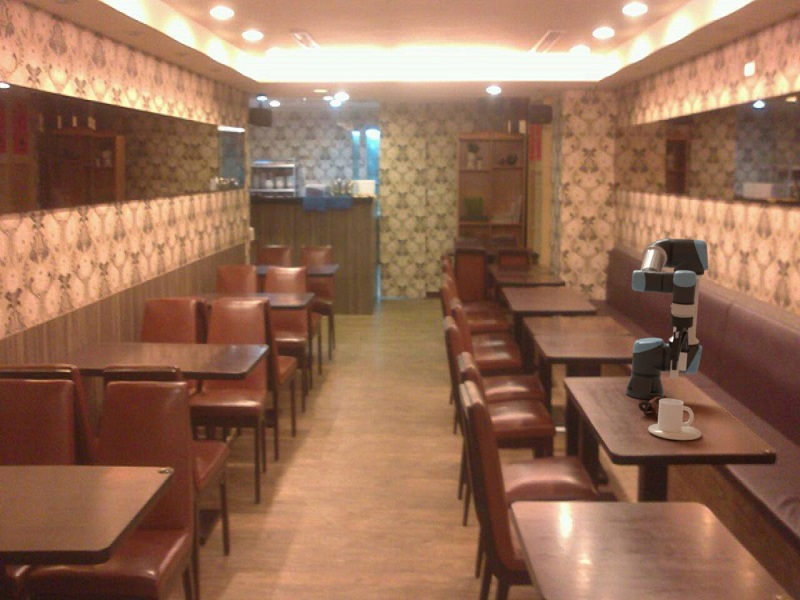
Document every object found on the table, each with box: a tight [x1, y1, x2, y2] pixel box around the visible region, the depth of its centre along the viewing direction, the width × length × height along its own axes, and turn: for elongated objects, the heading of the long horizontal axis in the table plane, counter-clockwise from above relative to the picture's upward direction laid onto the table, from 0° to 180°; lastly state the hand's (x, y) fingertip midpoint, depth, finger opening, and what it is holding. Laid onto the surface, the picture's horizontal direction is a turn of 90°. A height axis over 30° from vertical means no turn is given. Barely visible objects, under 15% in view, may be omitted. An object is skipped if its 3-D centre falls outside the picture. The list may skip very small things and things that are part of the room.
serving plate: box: [648, 423, 702, 441], centre depth 328 cm, size 18×18×1 cm
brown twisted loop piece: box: [637, 397, 665, 420], centre depth 349 cm, size 12×10×8 cm
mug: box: [657, 397, 695, 433], centre depth 328 cm, size 12×8×10 cm
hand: (677, 374), depth 326 cm, fingers open, 13 cm apart
